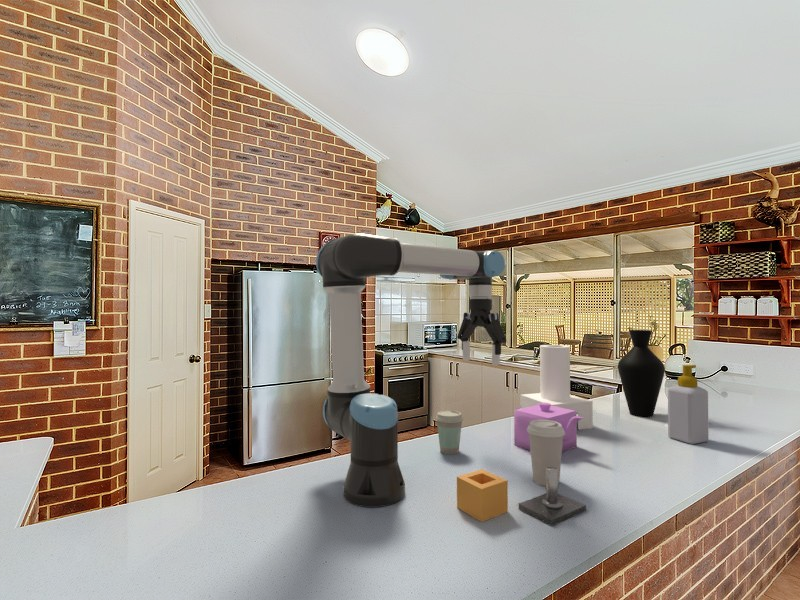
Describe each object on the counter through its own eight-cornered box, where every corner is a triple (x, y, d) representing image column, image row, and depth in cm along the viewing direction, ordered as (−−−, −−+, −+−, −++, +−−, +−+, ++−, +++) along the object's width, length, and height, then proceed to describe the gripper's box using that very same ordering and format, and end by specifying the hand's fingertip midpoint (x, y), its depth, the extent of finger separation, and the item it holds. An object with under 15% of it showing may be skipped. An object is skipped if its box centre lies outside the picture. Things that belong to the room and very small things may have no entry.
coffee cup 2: (540, 490, 108) (540, 430, 108) (520, 476, 117) (519, 420, 117) (573, 486, 111) (573, 427, 111) (551, 472, 120) (550, 417, 120)
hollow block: (481, 521, 93) (481, 489, 93) (457, 507, 100) (456, 476, 100) (507, 511, 97) (507, 480, 97) (482, 498, 104) (482, 469, 104)
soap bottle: (710, 442, 145) (709, 366, 145) (692, 445, 141) (691, 368, 142) (684, 434, 153) (683, 363, 153) (666, 437, 150) (665, 364, 150)
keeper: (552, 525, 91) (551, 481, 91) (518, 509, 99) (518, 468, 99) (586, 510, 98) (585, 469, 98) (552, 495, 105) (552, 457, 105)
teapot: (569, 463, 126) (569, 415, 126) (502, 441, 146) (502, 400, 146) (597, 453, 135) (597, 407, 135) (530, 433, 155) (530, 394, 155)
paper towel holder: (520, 419, 174) (520, 344, 174) (560, 415, 180) (559, 343, 180) (550, 432, 156) (549, 349, 156) (592, 428, 162) (592, 347, 162)
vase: (628, 407, 192) (627, 328, 192) (672, 415, 179) (671, 330, 179) (610, 414, 181) (610, 330, 181) (655, 422, 168) (654, 332, 168)
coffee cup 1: (462, 456, 132) (462, 417, 132) (434, 454, 134) (434, 416, 134) (463, 447, 141) (463, 410, 141) (437, 445, 142) (437, 409, 142)
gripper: (517, 297, 135) (517, 366, 135) (463, 298, 156) (463, 357, 156) (501, 297, 131) (501, 368, 131) (447, 298, 152) (447, 359, 152)
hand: (480, 362), depth 143 cm, fingers open, 13 cm apart
